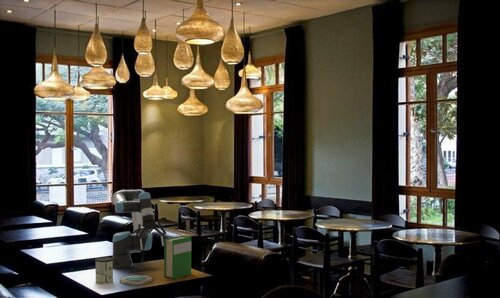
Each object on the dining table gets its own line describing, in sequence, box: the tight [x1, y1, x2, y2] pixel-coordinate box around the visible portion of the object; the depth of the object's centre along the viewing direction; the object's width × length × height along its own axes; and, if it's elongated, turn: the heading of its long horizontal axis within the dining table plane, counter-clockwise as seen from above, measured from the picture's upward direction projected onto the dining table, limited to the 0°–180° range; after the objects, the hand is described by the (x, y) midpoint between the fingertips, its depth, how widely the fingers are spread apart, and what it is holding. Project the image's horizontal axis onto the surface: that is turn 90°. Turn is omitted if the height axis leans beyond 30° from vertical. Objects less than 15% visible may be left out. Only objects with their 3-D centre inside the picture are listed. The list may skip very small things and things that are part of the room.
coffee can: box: [94, 256, 114, 285], centre depth 334 cm, size 10×10×14 cm
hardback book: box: [163, 235, 192, 280], centre depth 352 cm, size 18×7×24 cm, turn 148°
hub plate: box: [119, 274, 153, 286], centre depth 337 cm, size 19×19×2 cm
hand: (152, 247), depth 358 cm, fingers open, 13 cm apart
